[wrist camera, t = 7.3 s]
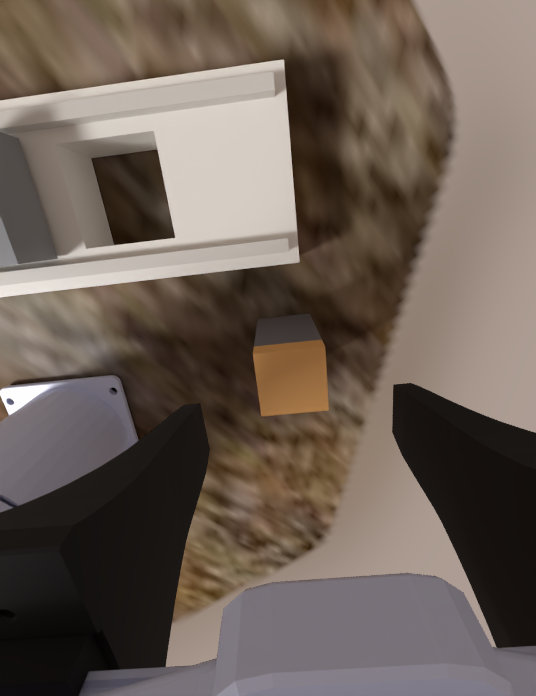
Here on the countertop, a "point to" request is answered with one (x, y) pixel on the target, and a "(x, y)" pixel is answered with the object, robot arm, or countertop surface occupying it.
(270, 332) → the orange and grey block
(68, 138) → the socket board
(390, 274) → the countertop surface
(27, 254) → the shutter
